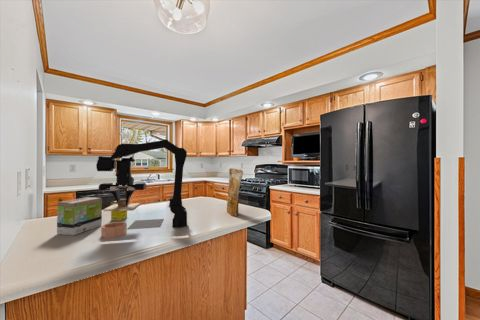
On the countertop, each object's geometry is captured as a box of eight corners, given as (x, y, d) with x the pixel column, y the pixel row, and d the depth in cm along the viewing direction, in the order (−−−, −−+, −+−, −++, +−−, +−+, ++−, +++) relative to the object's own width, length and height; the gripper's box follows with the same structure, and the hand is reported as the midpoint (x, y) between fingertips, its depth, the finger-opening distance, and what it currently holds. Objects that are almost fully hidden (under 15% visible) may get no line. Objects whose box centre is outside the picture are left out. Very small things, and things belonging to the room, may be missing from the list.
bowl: (128, 232, 100) (128, 221, 100) (122, 239, 92) (122, 227, 92) (107, 233, 98) (107, 222, 98) (98, 240, 90) (98, 228, 90)
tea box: (74, 236, 95) (74, 202, 95) (56, 234, 97) (56, 202, 97) (102, 225, 110) (102, 197, 110) (86, 224, 112) (86, 196, 112)
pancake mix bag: (233, 209, 145) (233, 168, 145) (243, 216, 127) (243, 169, 127) (224, 210, 143) (224, 168, 143) (233, 217, 125) (233, 169, 125)
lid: (140, 204, 106) (140, 197, 106) (133, 210, 94) (133, 201, 94) (114, 205, 104) (114, 197, 104) (103, 211, 92) (103, 202, 92)
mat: (164, 220, 119) (164, 218, 119) (160, 229, 104) (160, 227, 104) (135, 222, 116) (135, 220, 116) (126, 231, 101) (126, 229, 101)
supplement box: (121, 222, 116) (121, 202, 116) (110, 222, 116) (110, 202, 116) (127, 219, 122) (127, 199, 122) (117, 219, 122) (117, 199, 122)
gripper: (149, 170, 109) (148, 201, 109) (108, 170, 105) (108, 202, 105) (143, 171, 98) (143, 206, 98) (98, 171, 94) (97, 207, 94)
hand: (123, 205), depth 99 cm, fingers closed on lid, 3 cm apart
